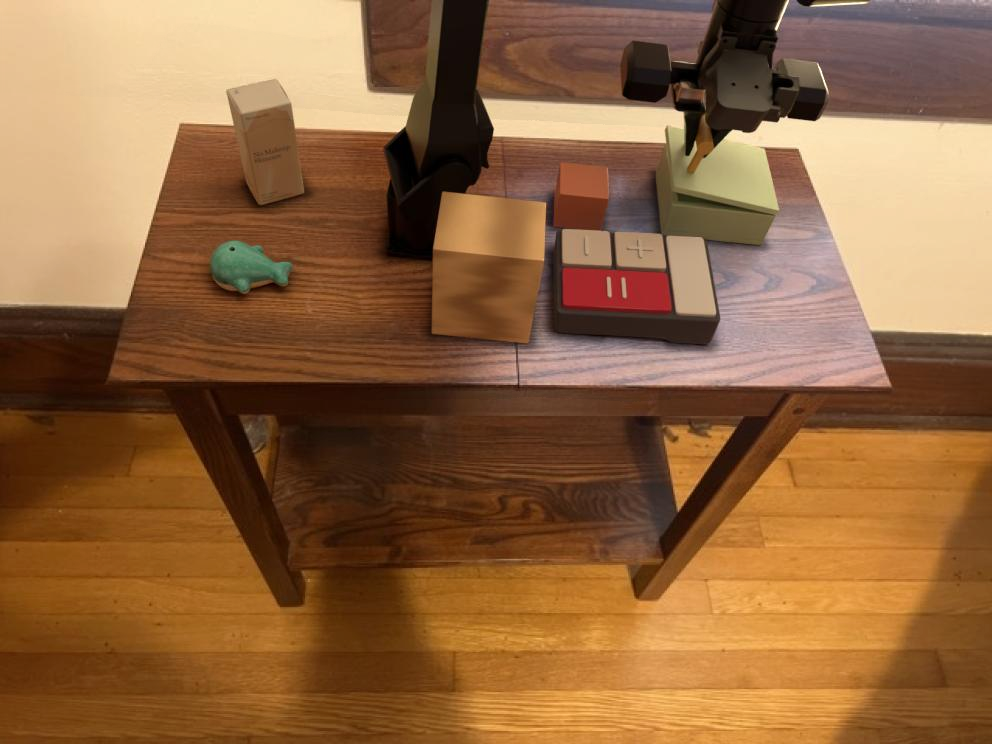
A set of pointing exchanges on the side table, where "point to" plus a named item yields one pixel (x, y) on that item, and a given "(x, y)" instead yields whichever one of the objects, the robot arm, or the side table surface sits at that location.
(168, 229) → the side table surface
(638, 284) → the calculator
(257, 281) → the whale figurine
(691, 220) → the chest
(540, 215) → the stand
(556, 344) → the side table surface
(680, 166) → the lid
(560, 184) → the block
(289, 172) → the box
